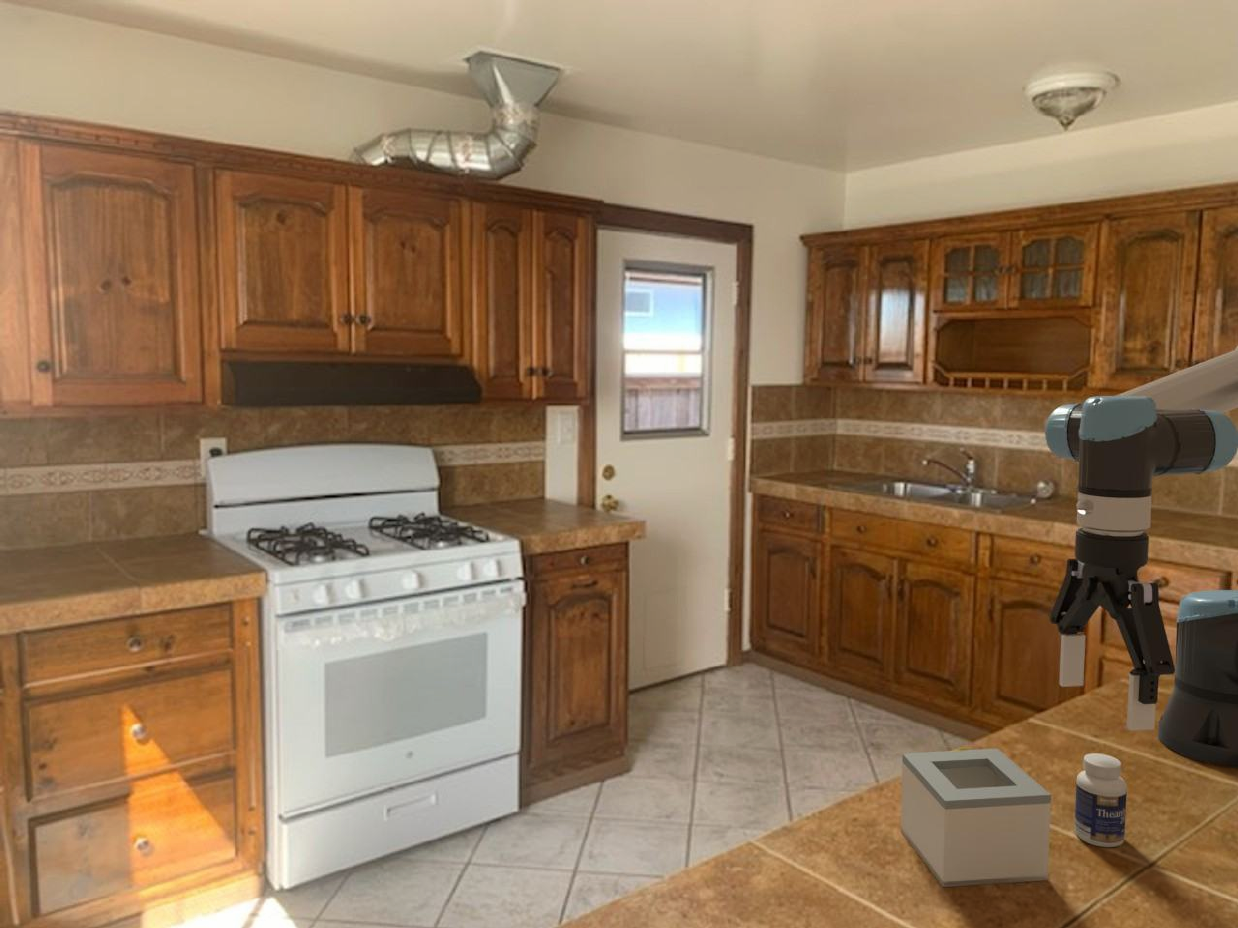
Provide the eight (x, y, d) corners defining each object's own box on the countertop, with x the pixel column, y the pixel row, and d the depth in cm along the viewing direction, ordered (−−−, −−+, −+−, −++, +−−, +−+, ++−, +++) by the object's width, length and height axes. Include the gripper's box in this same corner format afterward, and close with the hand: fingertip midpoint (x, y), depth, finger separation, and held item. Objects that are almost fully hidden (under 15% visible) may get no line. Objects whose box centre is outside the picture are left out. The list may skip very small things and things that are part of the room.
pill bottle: (1097, 851, 108) (1101, 772, 107) (1064, 829, 113) (1067, 753, 112) (1135, 844, 109) (1139, 766, 108) (1100, 822, 114) (1103, 747, 113)
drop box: (995, 825, 114) (997, 748, 113) (1047, 879, 102) (1050, 794, 101) (901, 831, 113) (902, 753, 112) (943, 886, 101) (945, 800, 100)
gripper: (1025, 512, 119) (1019, 671, 121) (1151, 553, 94) (1141, 751, 96) (1081, 510, 119) (1074, 668, 122) (1221, 551, 94) (1208, 748, 97)
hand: (1103, 705), depth 109 cm, fingers open, 13 cm apart
